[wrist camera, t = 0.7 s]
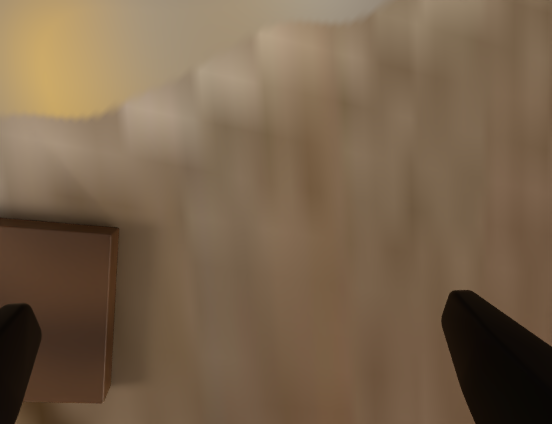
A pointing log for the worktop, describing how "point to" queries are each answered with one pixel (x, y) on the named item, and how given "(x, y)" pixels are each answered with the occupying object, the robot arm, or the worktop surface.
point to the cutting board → (64, 303)
